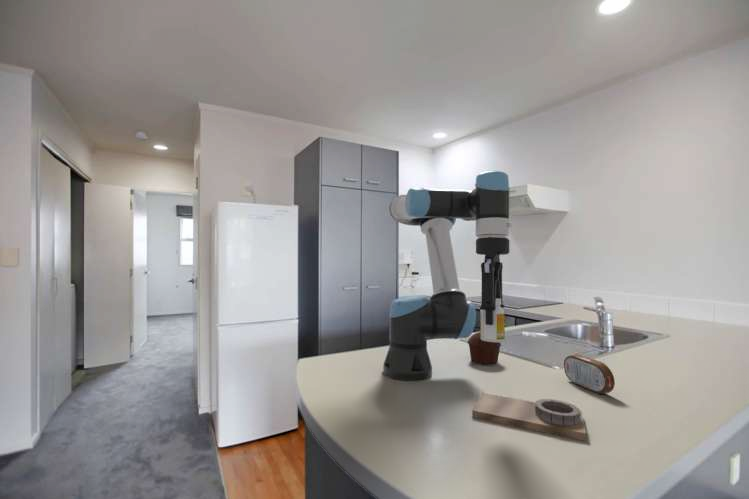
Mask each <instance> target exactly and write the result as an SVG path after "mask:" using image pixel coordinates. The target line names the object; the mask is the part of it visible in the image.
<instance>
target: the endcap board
mask: <svg viewBox="0 0 749 499" xmlns="http://www.w3.org/2000/svg"><path fill="white" fill-rule="evenodd" d="M471 415H472V416H471V418H474V419H479V420H484V421H490V422H494V423H498V424H504V425H509V426H513V427H518V428H522V429H527V430H531V431H535V432H541V433H545V434H550V435H555V436H561V437H563V438H564V437H565V438H569V439H572V440H573V439H575V440H580V441H583V440H584V442H587V431H586V426H585V422H584V416H583V412H582V410H580V408H578V407H577V406H576V405H574V404H572V403H569V402H566V401H563V400H557V399H552V398H545V399H544V398H542V399H538V400H536V401H529V400H523V399H520V398H512V397H507V396H502V395H496V394H495V395H494V394H491V393H484V392H481V393H480V395H479V397H478V399H477V401H476V402H475V405H474V406H473V409H472V414H471Z"/></svg>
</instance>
